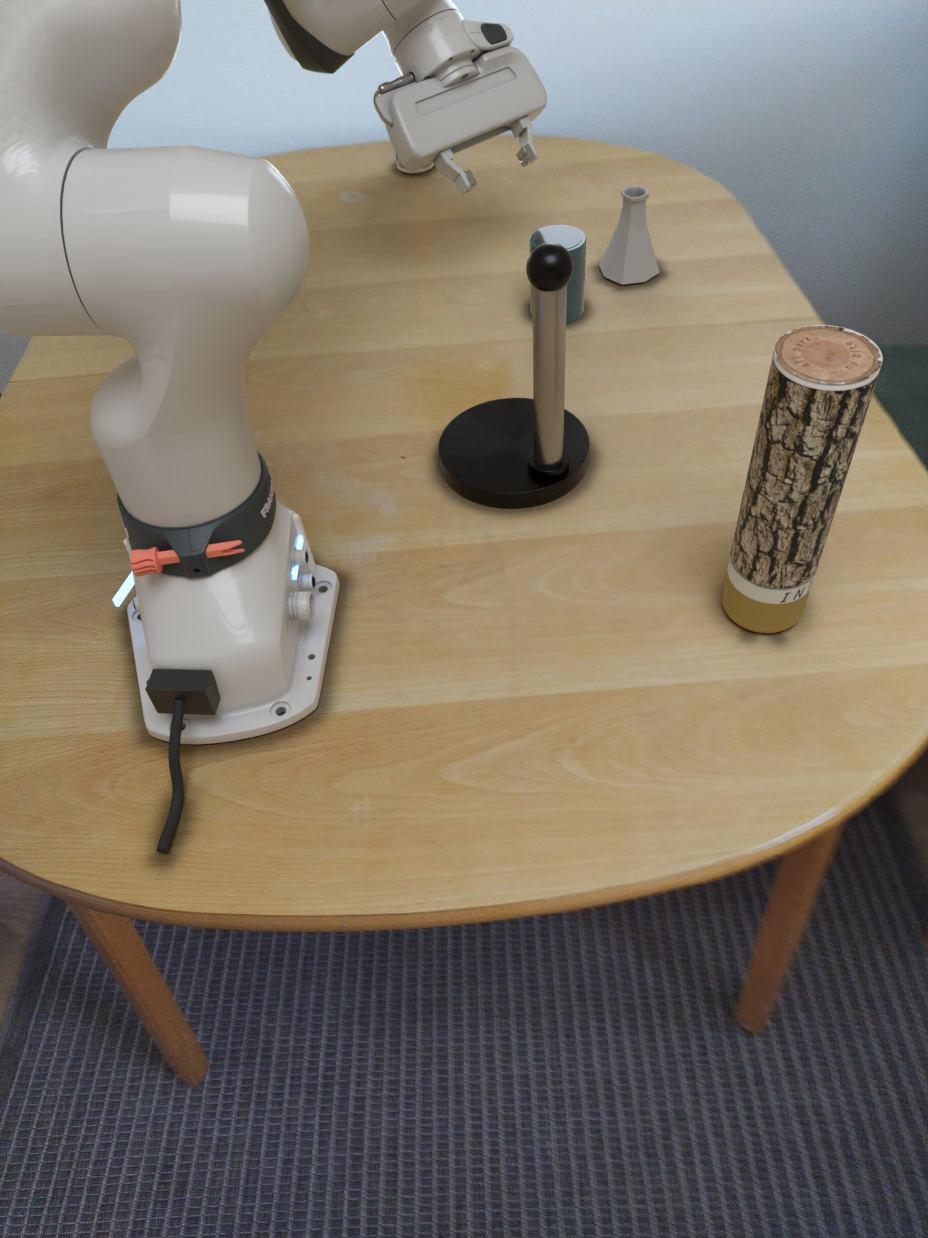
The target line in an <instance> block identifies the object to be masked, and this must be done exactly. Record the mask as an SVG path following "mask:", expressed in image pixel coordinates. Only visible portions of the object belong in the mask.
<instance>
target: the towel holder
mask: <svg viewBox="0 0 928 1238" xmlns="http://www.w3.org/2000/svg"><path fill="white" fill-rule="evenodd" d="M525 266H526V267H525V272H526V277H527V279H528V282H529V284H530V283H531V284H532V285H533V316H532V380H533V381H532V385H533V386H532V388H533V389H532V390H533V391H532V395H533V396H532V397H533V398H529V397H505V398H498V399H493V400H487V401H485V402H482V403H478V404H476V405H474V406H471V407H469V408H467V409H465V410H463V411H462V412H461V413H459V414H457V415H456V416H455V417H454V418H453V419H451V420H450V422H448V424H447V425H446V426H445V428H444V429H443V431H442V433H441V435H440V437H439V440H438V458H439V467H440V472H441V475H442V477H443V479H444V480H445V482H446V483H447V484H448V486H449V487H450V488H451V489H452V490H453V491H454V492H455V493H456V494H458V495H459V496H461V497H463V498H464V499H466V500H468V501H470V502H473V503H476V504H479V505H481V506H485V507H490V508H496V509H506V510H507V509H508V510H513V509H515V510H516V509H527V508H533V507H537V506H542V505H545V504H548V503H550V502H553V501H555V500H557V499H560V498H561V497H563V496H565V495H567V494H568V493H570V492H571V491H572V490H573V489H574V488H576V486H577V485H579V483H580V482H581V481H582V480H583V478H584V476H585V475H586V472H587V470H588V466H589V459H590V438H589V437H590V436H589V434H588V431H587V429H586V427H585V425H584V424H583V423H582V421H581V420H580V419H579V418H578V417H577V416H576V415H574V413H572V412H571V411H569V410H568V409H566V408H565V397H566V396H565V393H566V391H565V390H566V389H565V388H566V352H567V351H566V350H567V349H566V346H567V344H566V343H567V324H566V306H567V284H568V283H569V281H570V280H571V277H572V275H573V269H574V265H573V260H572V257H571V255H570V253H569V252H568V250H567V249H566V248H565V247H563V246H562V245H560V244H557V243H544V244H542V245H540V246H538V247H537V248H535V249H534V250H533V251H532V253H531V254H530V253H529V256H528V258H527V261H526V265H525Z"/></svg>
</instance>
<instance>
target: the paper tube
mask: <svg viewBox="0 0 928 1238" xmlns="http://www.w3.org/2000/svg"><path fill="white" fill-rule="evenodd" d="M883 360H884V357H883V353H882V350H881V349H880V347H879V346H878V345H877V343H876V342H874V341H873V340H872V339H871V338H869V337H868V336H866V335H864V334H863V333H861V332H858V331H856V330H853V329H850V328H847V327H843V326H838V325H830V324H812V325H811V324H810V325H804V326H799V327H796V328H793V329H790V330H789V331H787V332H785V333H784V334H782V335H781V336H780V337H779V338H778V340H777V341H776V343H775V345H774V350H773V352H772V357H771V363H770V365H769V366H770V367H769V371H768V376H767V381H766V386H765V390H764V395H763V400H762V404H761V408H760V412H759V413H760V414H759V418H758V423H757V428H756V432H755V437H754V442H753V446H752V451H751V455H750V460H749V465H748V469H747V474H746V479H745V482H744V483H745V484H744V488H743V493H742V497H741V501H740V506H739V511H738V517H737V520H736V525H735V530H734V535H733V540H732V544H731V548H730V553H729V559H728V562H727V569H726V573H725V578H724V583H723V588H722V593H721V603H722V607H723V609H724V611H725V613H726V614H727V615H728V617H729V618H730V619H731V620H732V621H733V622H734V623H735V624H736V625H738V626H740V627H741V628H743V629H746V630H748V631H751V632H754V633H761V634H775V633H779V632H783V631H785V630H788V629H789V628H792V627H793V626H794V625H796V624H797V623H798V622H799V620H800V619H801V617H802V615H803V614H804V611H805V608H806V604H807V601H808V598H809V595H810V592H811V588H812V586H813V584H814V580H815V577H816V574H817V570H818V568H819V565H820V561H821V558H822V555H823V552H824V549H825V545H826V543H827V539H828V537H829V533H830V531H831V527H832V524H833V521H834V517H835V514H836V512H837V507H838V505H839V502H840V498H841V495H842V492H843V490H844V485H845V483H846V479H847V476H848V473H849V471H850V467H851V464H852V461H853V458H854V455H855V451H856V448H857V445H858V442H859V439H860V436H861V433H862V430H863V426H864V423H865V420H866V417H867V413H868V410H869V408H870V404H871V401H872V398H873V395H874V392H875V388H876V385H877V382H878V379H879V375H880V373H881V370H882V365H883Z"/></svg>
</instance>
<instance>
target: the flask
mask: <svg viewBox="0 0 928 1238" xmlns="http://www.w3.org/2000/svg"><path fill="white" fill-rule="evenodd" d="M620 196H621V197H622V203H621V204H622V205H621V210H620V214H619V218H618V222H617V224H616V227H615V228H614V231H613V234H612V235H611V238H610V241H609V243H608V245H607V247H606V249H605V251H604V253H603V256H602V257H601V260H600V262H599V264H598V265H599V268H600V271H601V273H602V276H603V278H606V279H608V280H610V281H612V282H614V283H616V284H620V285H630V284H638V283H646V282H647V281H649V280H650V279H652V278H654V277H655V276H657V275H658V274H660V269H659V268H660V267H659V264H658V261H657V257H656V254H655V251H654V247H653V243H652V239H651V235H650V231H649V227H648V221H647V212H646V208H647V199H649V197H650V192H649V190H648V188H647V187H645V186H642V185H640V184H636V185H628V186H626V187H624V188H621V189H620Z"/></svg>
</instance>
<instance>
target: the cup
mask: <svg viewBox="0 0 928 1238" xmlns="http://www.w3.org/2000/svg"><path fill="white" fill-rule="evenodd" d="M587 239H588V238H587V234H586V233H585V232H584V231H583V230H581V229H580V228H578V227H576V226H573V225H567V224H551V225H547V226H543V227H540V228H538V229H536V230H535V231H533V232H532V234H530V236H529V255H530V254H531V253H532V251H533V250H534V249H535V248H537V247H538V246H540V245H542V244H544V243H557V244H560V245H562V246H563V247H565V248H566V249H567V250H568V252H569V253H570V255H571V257H572V260H573V265H574V269H573V275H572V277H571V280H570V281H569V283H568V284H567V306H566V325H567V324H570V323H572V322H575V321H577V320H579V319H580V318H581V317H582V315H583V314H584V311H585V293H586V292H585V291H586V266H587V265H586V264H587V263H586V262H587V242H588V241H587ZM529 308H530V309H529V312H530V314H531V315H530V316H532V317H533V285H532V284H531V283H530V282H529Z"/></svg>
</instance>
